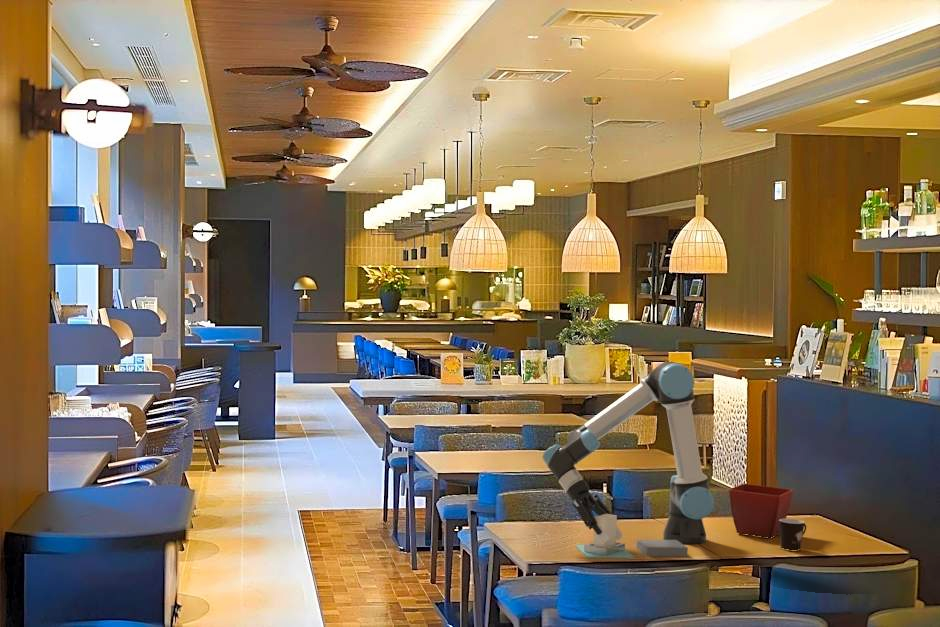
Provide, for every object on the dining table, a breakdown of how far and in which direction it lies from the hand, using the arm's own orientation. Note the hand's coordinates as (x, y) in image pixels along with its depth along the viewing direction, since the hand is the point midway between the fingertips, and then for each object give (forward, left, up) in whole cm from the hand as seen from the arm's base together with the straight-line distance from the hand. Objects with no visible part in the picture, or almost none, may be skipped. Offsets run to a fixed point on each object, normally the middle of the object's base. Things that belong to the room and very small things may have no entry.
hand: (613, 539), depth 401 cm
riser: (-2, +18, -5) cm, 18 cm away
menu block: (-2, -2, -3) cm, 4 cm away
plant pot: (-33, +65, -5) cm, 73 cm away
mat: (-2, -2, -5) cm, 6 cm away
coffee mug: (-8, +68, -5) cm, 68 cm away
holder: (-2, -2, -5) cm, 6 cm away
